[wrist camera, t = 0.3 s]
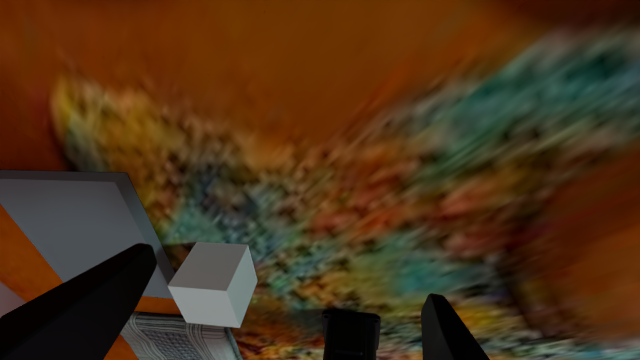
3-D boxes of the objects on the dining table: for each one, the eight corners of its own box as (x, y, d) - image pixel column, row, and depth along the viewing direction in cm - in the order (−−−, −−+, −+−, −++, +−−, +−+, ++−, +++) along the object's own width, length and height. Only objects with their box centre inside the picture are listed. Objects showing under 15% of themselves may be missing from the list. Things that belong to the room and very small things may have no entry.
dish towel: (109, 304, 41) (91, 326, 38) (230, 313, 38) (219, 338, 35) (160, 371, 51) (149, 392, 48) (259, 383, 48) (253, 406, 45)
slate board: (181, 287, 35) (175, 298, 34) (79, 279, 37) (69, 289, 36) (126, 172, 27) (114, 181, 25) (-4, 169, 29) (-20, 178, 27)
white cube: (257, 280, 33) (239, 327, 28) (211, 276, 34) (186, 322, 29) (248, 244, 30) (226, 291, 25) (197, 241, 31) (167, 286, 26)
